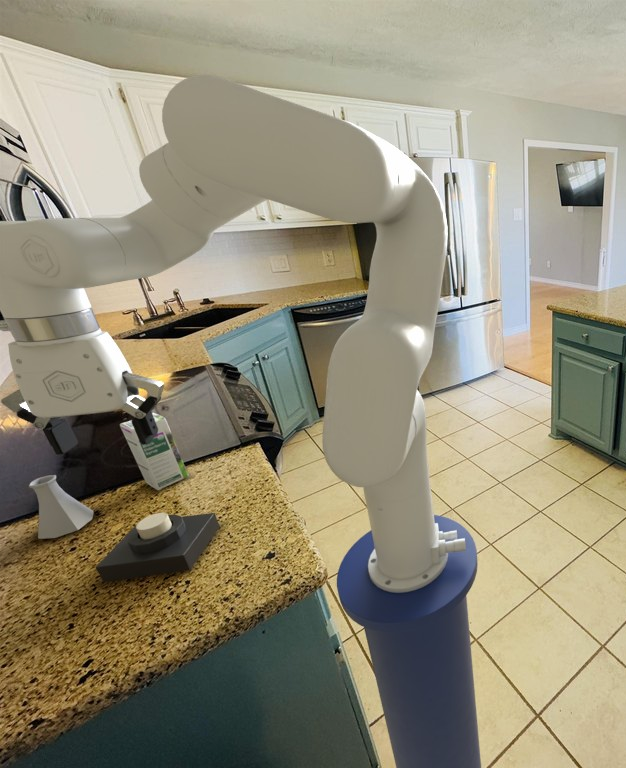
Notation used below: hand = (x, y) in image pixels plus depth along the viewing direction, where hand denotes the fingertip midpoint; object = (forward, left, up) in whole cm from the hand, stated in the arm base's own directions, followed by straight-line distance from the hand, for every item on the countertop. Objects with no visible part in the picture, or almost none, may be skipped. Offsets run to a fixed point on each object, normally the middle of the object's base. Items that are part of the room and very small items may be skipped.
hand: (109, 444), depth 58 cm
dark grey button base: (+1, -2, -22) cm, 22 cm away
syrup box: (+13, -25, -22) cm, 36 cm away
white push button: (+1, -2, -17) cm, 18 cm away
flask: (+23, -13, -22) cm, 34 cm away
